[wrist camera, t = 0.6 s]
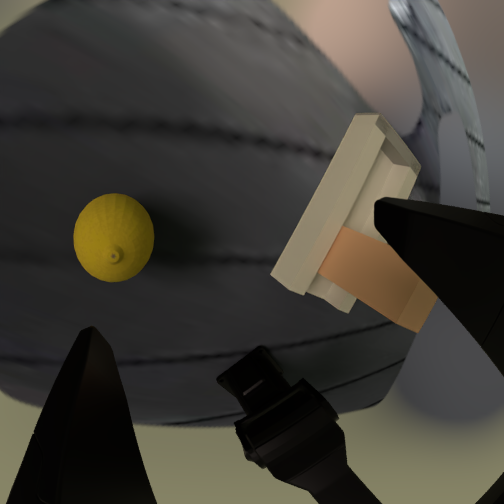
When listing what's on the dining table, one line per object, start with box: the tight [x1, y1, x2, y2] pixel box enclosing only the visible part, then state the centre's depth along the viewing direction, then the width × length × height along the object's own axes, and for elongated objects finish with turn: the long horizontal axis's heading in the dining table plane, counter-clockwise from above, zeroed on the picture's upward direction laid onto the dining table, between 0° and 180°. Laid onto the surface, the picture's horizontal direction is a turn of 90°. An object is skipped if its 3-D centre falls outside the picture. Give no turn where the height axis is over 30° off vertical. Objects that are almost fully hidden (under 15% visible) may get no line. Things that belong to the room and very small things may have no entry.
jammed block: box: [317, 226, 438, 333], centre depth 25 cm, size 5×5×12 cm
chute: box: [270, 113, 421, 313], centre depth 29 cm, size 19×10×4 cm, turn 148°
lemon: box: [74, 193, 154, 282], centre depth 18 cm, size 6×6×8 cm
